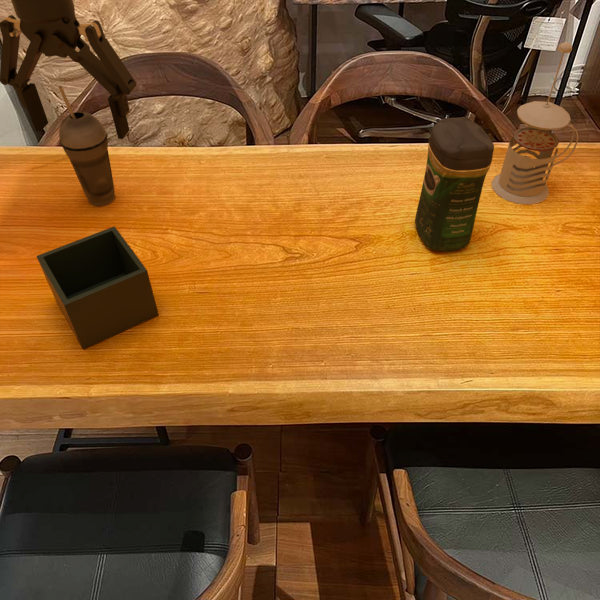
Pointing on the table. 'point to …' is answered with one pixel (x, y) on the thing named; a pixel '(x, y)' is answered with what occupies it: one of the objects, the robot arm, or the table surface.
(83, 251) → the bin
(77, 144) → the beverage cup
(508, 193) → the french press
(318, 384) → the table surface
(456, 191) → the coffee jar
